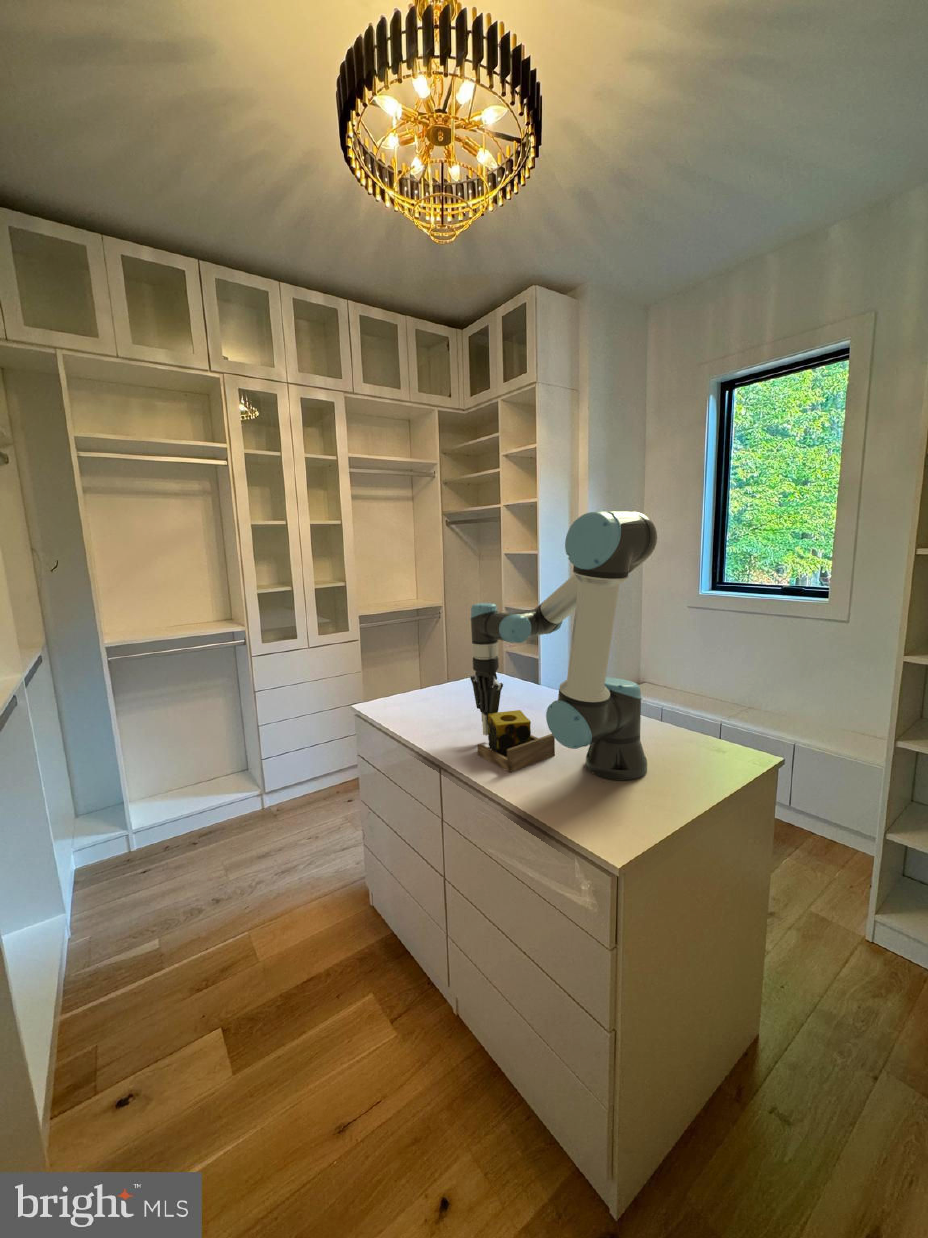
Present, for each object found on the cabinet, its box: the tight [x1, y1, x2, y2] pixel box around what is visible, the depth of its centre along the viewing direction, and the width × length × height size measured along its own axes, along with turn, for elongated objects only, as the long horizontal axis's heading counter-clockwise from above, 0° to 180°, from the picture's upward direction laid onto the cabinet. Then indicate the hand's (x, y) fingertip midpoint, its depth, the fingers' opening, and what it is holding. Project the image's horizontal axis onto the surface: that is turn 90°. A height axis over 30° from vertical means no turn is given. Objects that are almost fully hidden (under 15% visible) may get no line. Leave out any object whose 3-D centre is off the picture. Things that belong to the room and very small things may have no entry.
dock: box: [477, 733, 556, 773], centre depth 137 cm, size 14×16×6 cm
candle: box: [487, 709, 532, 757], centre depth 140 cm, size 10×10×10 cm
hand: (488, 733), depth 147 cm, fingers closed
